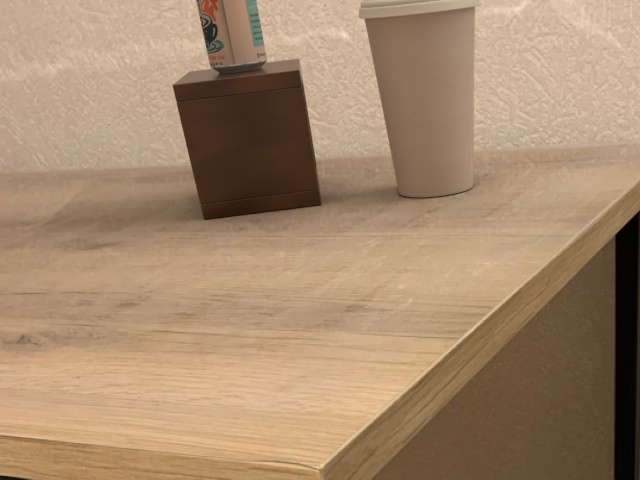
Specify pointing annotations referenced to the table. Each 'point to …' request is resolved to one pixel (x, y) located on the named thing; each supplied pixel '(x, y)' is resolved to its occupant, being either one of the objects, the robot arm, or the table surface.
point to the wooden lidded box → (249, 139)
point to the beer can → (232, 35)
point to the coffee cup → (426, 90)
